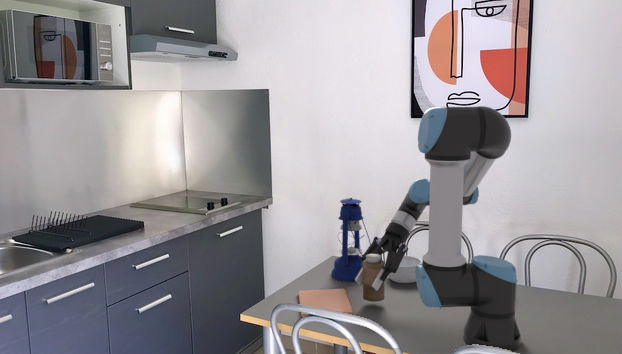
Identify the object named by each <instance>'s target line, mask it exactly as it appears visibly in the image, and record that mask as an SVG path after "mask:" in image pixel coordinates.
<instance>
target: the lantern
mask: <svg viewBox="0 0 622 354" xmlns="http://www.w3.org/2000/svg"><path fill="white" fill-rule="evenodd" d="M339 202H340V203H341V205H342V206H341V207H340V212H339V217H338V220H339V221H340V220H341V221H342V224H341V225H340V228H339V229H340V230H341V232H338V233H337V235H339V234H340V233H341V234H342V239H341V240H340V238H339V237H337V238H338V241H339V242H340V244H341V246H342V247H341V249H340V250H338V252H339V254H341V256H339V257H337V258H336V259H334V262H333V263H334V264H333V265H334V266H333V269H332V270H331V277H332V278H333V279H334V280H337V281H340V282H346V283H355V282H356V281H355V278H356V277H357V275H358V273H359V270H360V268H361V266H362V265H363V262H362V261H361V260H360V259H361V257H362V256H363V254H364V250H363V249H361V248H362V246H361V243H360V242H361V240H360V239H362V238H364V237H365V236H366V235H367V238H368V241H369V246H370V245H371V244H372V242H371V239H370V237H369V234H368V230H367V228H366V225H365V222H364V216H363V213H362V212H363V211H362V207H361V205H360V204H361V203H362V200H360V199H356V198H353V197H348V198H342V199H341V200H340V201H339ZM360 221H362V224H363V227H364V230H365V232H366V235H365V234H364V235H361V236H360V231H361V230H363V227H362V225H361V224H360ZM349 232H351V234H352V235H350V234H349ZM349 236H350V237H352V238H353V239H354V241H353V242H351V243H348V242H349ZM341 241H342V242H341ZM349 245H351V246H349ZM353 245H354V246H353ZM356 283H357V282H356Z"/></svg>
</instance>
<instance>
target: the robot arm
mask: <svg viewBox="0 0 622 354" xmlns="http://www.w3.org/2000/svg"><path fill="white" fill-rule="evenodd" d="M508 122H509V121H508V120H507V119H506V117H505V116H504V115H503V114H502V113H501V112H499V110H498V111H497V110H496V109H494V108H491V107H488V106H485V105H484V106H481V105H480V106H439V107H431V108H428V109H427V110H426V111H425V112H424V113H423V115H422V117H421V119H420V123H419V126H418V134H417V147H418V151H419V152H420V153H422V154H424V160H425V161H426V162H427V163H428V164H429V166H430V168H429V169H430V171H429V179H427V178H418V179H415V181H414V182H413V183H412V184H411V185H410V186H409V189H408V192H407V193H406V195H405V197H404V199H403V200H402V202H401V204H400V206H399V207H398V209H397V210H396V212H395V214H394V215H393V217H392V218H391V220H390V222H389V223H388V225H387V227H386V229H385V231H384V235H383V236H381V237H378V236H374V237H373V241H372V242H371V245H370V244H369V246H368V247H367V249H366V250H365V252H363V253H362V255H363V256H362V257H361V259H360V260H361V261H362V262H363V261H364V260H366V255H368V254H379V255H381V256H382V254H386V253H387V255H386V260H385V262H384V267H383V268H384V269H381V271H380V272H379V274H378V276H377V277H376V279H375V281H374V283H373V284H372V287H373V288H374V289H375V290H376V291H378V289H379V287H380V286H381V284H382V282H384V283H385V281H386V280H387V279H388V278H389V276H388V275H389V274H390V273H396V272H397V269H398V267H399V265H400V263H401V261H402V259H403V256H405V254H406V253H407V252H408V251H409V247H408V246H407V244H406V241H407V239H408V238H409V236H410V234H411V232H412V231H413V230H414V227H415V225H416V224H417V222H418V220H419V219H420V218H421V216H422V214H423V212H424V211H425V209H426V208H427V207H429V209H428V216H429V217H428V247H427V249H428V251H427V252H426V253H425V254H423V256H422V264H419V265H417V266H416V270H415V273H416V282H415V283H416V286H417V287H416V288H417V291H418V294H419V299H420V300H421V302H422V304H423V305H424V306H425V307H428V308H439V309H442V308H460V307H462V308H463V307H466V308H467V307H470V312H469V314H468V317H467V319H466V323H464V324H465V325H464V326H463V332H462V333H463V335H462V336H463V337H462V338H463V339H464V341H465V342H466V344H468V345H469V346H471V345H472V344H479V345H486V346H493V347H499V348H502V349H507V350H512V351H511V352H514V351H516V350H518V349H519V348H520V347H521V344H522V343H521V342H522V336H521V332H520V329H519V324H518V322H517V319H516V301H517V300H516V298H517V284H518V280H517V279H518V278H517V268H516V266H515V265H514V264H513V263H511V262H510V261H508V260H506V259H503V258H500V257H497V256H496V257H495V256H490V255H483V254H482V255H481V254H480V255H474V256H473V257H472V259H471V260H470V261H471V262H467V261H468V260H467V258H466V257H465V256H464V254H462V235H463V234H462V233H463V211H464V210H463V206H467V205H469V206H470V205H475V204H477V203H478V201H479V200H478V199H479V196H480V195H479V194H480V193H479V192H480V191H479V185H480V184H481V182H482V181H483V179H484V177H485V176H486V174H487V173H488V171H489V170H490V168H491V167H492V166H493V164H494V163H495V161H496V160H497V159H501V158H502V156H504V155H505V154H506V151H507V150H508V149H509V147H510V145H511V140H512V130H511V126H510V124H509V123H508ZM355 281H356V283H357V284H358V285H362V284H363V265H362V266H361V268H360V270H359V273H358V275H357V277H356V278H355Z"/></svg>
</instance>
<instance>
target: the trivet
mask: <svg viewBox="0 0 622 354" xmlns="http://www.w3.org/2000/svg"><path fill="white" fill-rule="evenodd" d="M298 300H299V305H300V304H303V305H307V306H312V307H318V308H324V309H329V310H334V311H339V312H343V313H348V314H353V315H354V311H353V308H352V306H351V303H350V300H349V297H348V295H347V292H346V289H345V288H334V289H333V288H330V289H306V290H298ZM305 315H307V314H306V313H301V312H300V317H302V316H305Z"/></svg>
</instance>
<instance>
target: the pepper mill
mask: <svg viewBox="0 0 622 354" xmlns="http://www.w3.org/2000/svg"><path fill="white" fill-rule="evenodd" d="M383 267H385V261H384V260H383V259H382V254H381V255H379V254H368V255H366V260H364V261H363V281H362V298H363V300H364V301H367V302H374V303H375V302H381V301H383V300H385V281H384V282H382V284H381V286H380V287H379V289H378V291H376V290H375V289H374V288H373V287H372V284H373V283H374V281H375V279H376V277H377V276H378V274H379V272H380V271H381V269H384V268H383ZM384 270H385V269H384Z"/></svg>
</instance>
